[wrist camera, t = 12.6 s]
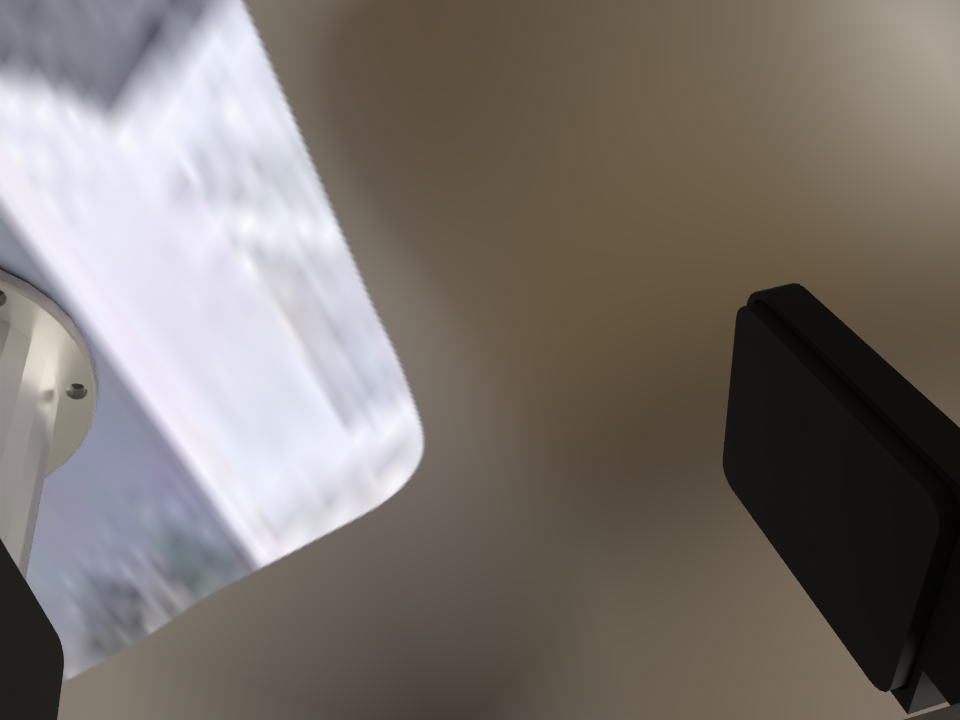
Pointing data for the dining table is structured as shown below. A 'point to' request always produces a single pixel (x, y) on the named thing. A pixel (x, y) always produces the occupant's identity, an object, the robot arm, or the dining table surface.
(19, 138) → the dining table surface
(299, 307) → the dining table surface
